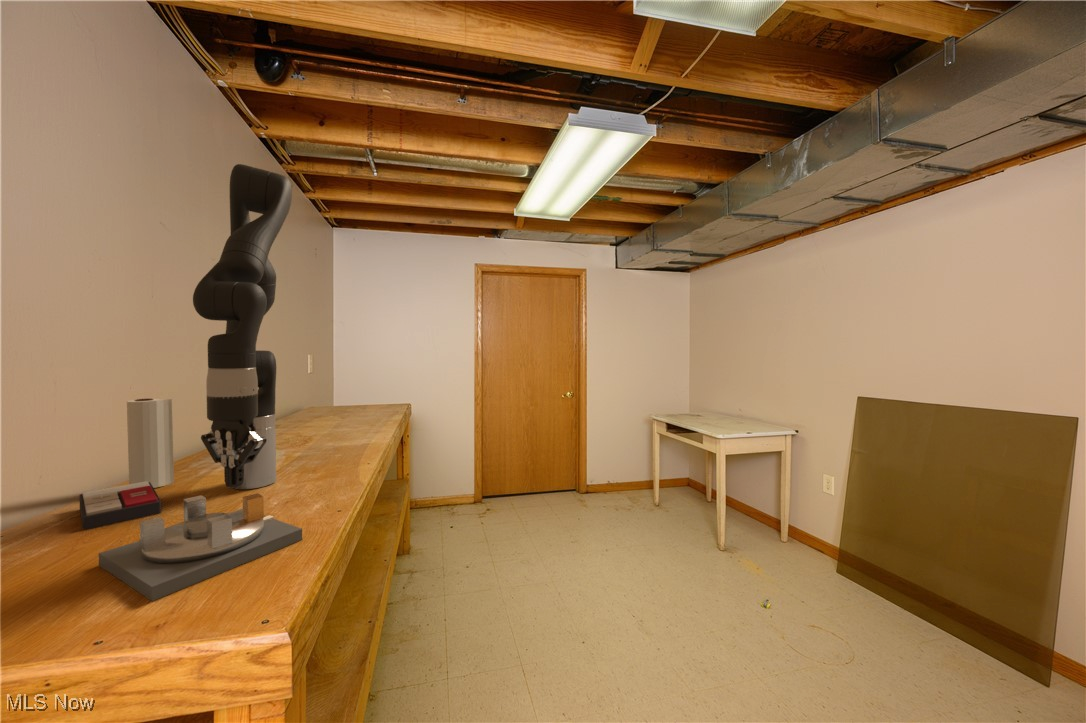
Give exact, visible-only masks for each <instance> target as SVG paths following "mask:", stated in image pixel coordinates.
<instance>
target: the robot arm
mask: <svg viewBox="0 0 1086 723" xmlns="http://www.w3.org/2000/svg"><path fill="white" fill-rule="evenodd" d="M292 198H293V188H292V183H291V181H290V179H289V178H288V177H286V176H285V175H282V174H280V173H276V172H273V171H269V170H266V169H262V168H258V167H254V166H250V165H246V164H241V163H237V164H235V165H234V166H233V168H232V169H231V173H230V177H229V217H230V218H229V219H230V220H229V221H230V224H229V225H230V227H229V228H230V234H229V236H228V238H227V239H226V241H225V244H224V247H223V249H222V252H221V255H220V258H219V261H218V262H216V264H215V265H213V266H212V268H211V269H210V270H209V271H208V272H207V273H206V274H205V275H204V276H203V277H202V278H201V280H200V281H199V282H197V285H196V287H195V288H194V291H193V295H192V304H193V307H194V310H195V311H196V313H197V314H198V315H199V316H200V317H202V318H203V319H205V320H209V321H226V326H225V327H226V328H225V333H222V334H221V333H220V334H215V335H212V336H210V337H209V338H208V341H207V375H206V381H205V382H206V387H205V388H206V418H207V420H209V421H211V422H212V423H211V425H210V429H211V430H210V431H209V432H208V433H205V434H202V435H200V439H201V441H202V443H203V445H204V447H205V448H206V450H207V451H208V454H209V455H210V456H211V459H212V460H213V462H214V463H216V464H218V463H220V465H221V467H223V470H224V472H223V473H224V483H225V485H224V486H225V487H226V488H232V489H235V490H250V489H252V490H253V489H257V488H264V487H267V486H269V485H270V486H271V485H272V484H274V483H276V481H277V446H276V445H277V444H276V442H277V441H276V439H277V438H276V384H277V383H276V382H277V359H276V357H275V354H274V353H273V351H271V350H256V349H257V341H258V336H259V332H260V327H261V325H262V323H263V319H264V317H265V315H266V314H267V313H268V312H269V311H270V309H271V308H272V307H273V305H274V303H275V299H276V298H275V297H276V288H277V287H276V286H277V274H276V270H275V268H274V266H273V265H272V262H271V261H270V259H269V254H270V251H271V249H272V246H273V244H274V242H275V240H276V238H277V237H278V235H279V232H280V231H281V229H282V228H283V225H284V223H285V221H286V219H287V216H288V215H289V213H290V210H291V206H292V201H293V200H292ZM250 212H252V213H257V214H260V216H259V217H257V218H255V219H253V220H251V217H250Z"/></svg>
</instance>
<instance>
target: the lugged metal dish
mask: <svg viewBox="0 0 1086 723" xmlns="http://www.w3.org/2000/svg"><path fill="white" fill-rule="evenodd" d="M182 500H183V521H181V522H179V523H175V524H173V525H170V526H168V527H165V520H164V518H163V517H162V516H157V517H153V518H149V519H144V520H141V521H139V533H140V534H139V537H140V540H139V541H140V544H141V548H142V557H143V558H144V559H146V560H148V561H152V562H158V563H174V562H184V561H191V560H197V559H202V558H206V557H210V556H214V555H218V554H221V553H224V552H227V551H230V550H233V549H235V548H238V547H240V546H242V545H245V544H247V543H248V542H250V541H252V540H254V539H255V538H256V537H258V536H259V535H260V534H261V533H262V531H263V529H264V520H263V518H264V512H265V511H264V510H265V508H264V496H263V495H261V494H260V493H259V492H258V493H254V494H249V495H246V496H245V495H244V496H242V509H243V513H231V512H211V513H207V497H205V496H203V495H202V494H200V495H197V496H192V497H187V498H183V499H182Z"/></svg>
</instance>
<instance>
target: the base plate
mask: <svg viewBox="0 0 1086 723" xmlns="http://www.w3.org/2000/svg"><path fill="white" fill-rule="evenodd" d="M230 513H243V508H242V509H241V508H240V509H238V510H235V511H232V512H230ZM263 520H264V529H263V531H262V533H261V534H260V535H259V536H258V537H256V538H255V539H254V540H252V541H250V542H248V543H247V544H245V545H242V546H240V547H238V548H235V549H233V550H230V551H227V552H224V553H221V554H218V555H214V556H210V557H206V558H202V559H197V560H191V561H184V562H174V563H158V562H152V561H148V560H146V559H144V558H143V557H142V548H141V544H140V540H137V541H133V542H131V543H128V544H124V545H121V546H117V547H114V548H110V549H108V550H107V549H106V550H105V551H102V552H98V567H101V568H102V569H104V570H105V571H106V572H108V573H109V572H110V573H109V574H111V575H112V574H113V575H112V576H114V577H115V578H117V579H118V580H120V581H121V580H122V581H121V582H123V583H124V584H126V585H127V586H129V587H130V588H132V589H133V590H135V591H136V592H138V593H139V594H141V595H143V596H144V597H145V598H147V599H149V600H150V601H151V602H155V601H156V600H159V599H161V598H164V597H166V596H169V595H171V594H173V593H176V592H178V591H181V590H184V589H186V588H188V587H190V586H193V585H195V584H198V583H201V582H202V581H205V580H207V579H210V578H213V577H215V576H217V575H220V574H222V573H224V572H227V571H230V570H232V569H234V568H237V567H240V566H242V565H244V564H246V563H249V562H251V560H252V561H254V560H256V559H259V558H262V557H264V556H266V555H269V554H271V553H273V552H276V551H278V550H280V549H281V550H282V549H283V548H286V547H288V546H290V545H293V544H295V543H298V542H300V541H302V540H303V528H301V527H298V526H296V525H293V524H290V523H287V522H284V521H282V520H279V519H276V518H275V517H274V516H273V515H264V518H263ZM241 564H242V565H241ZM239 565H240V566H239Z"/></svg>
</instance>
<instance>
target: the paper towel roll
mask: <svg viewBox="0 0 1086 723" xmlns="http://www.w3.org/2000/svg"><path fill="white" fill-rule="evenodd" d="M126 421H127V450H128V451H127V452H128V456H127V457H128V458H127V459H128V485H129V484H135V483H140V482H146V481H147V482H150V483H151V484H152V486H153V488H154V489H157V488H160V487H164V486H168V485H174V483H175V475H174V474H175V473H174V472H175V471H174V467H175V466H174V434H173V433H174V432H173V431H174V430H173V426H174V425H173V398H172V399H171V398H170V399H169V398H168V399H160V398H137V399H132V400H127V401H126Z"/></svg>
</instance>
